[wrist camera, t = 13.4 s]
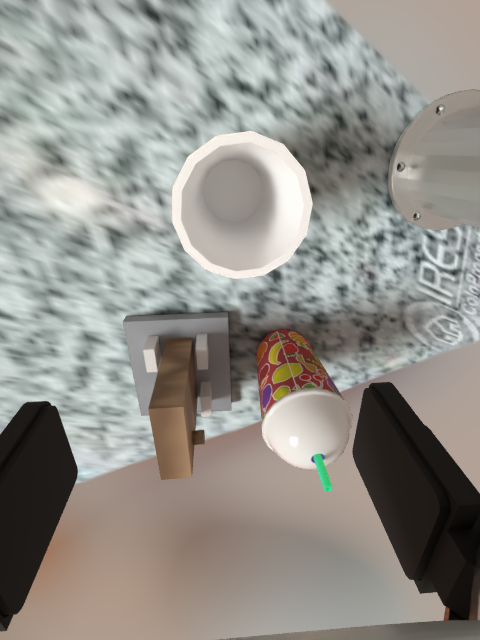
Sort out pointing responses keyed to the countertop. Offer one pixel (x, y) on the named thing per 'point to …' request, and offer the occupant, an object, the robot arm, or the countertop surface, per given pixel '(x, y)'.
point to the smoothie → (300, 404)
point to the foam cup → (241, 205)
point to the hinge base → (208, 350)
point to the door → (175, 410)
